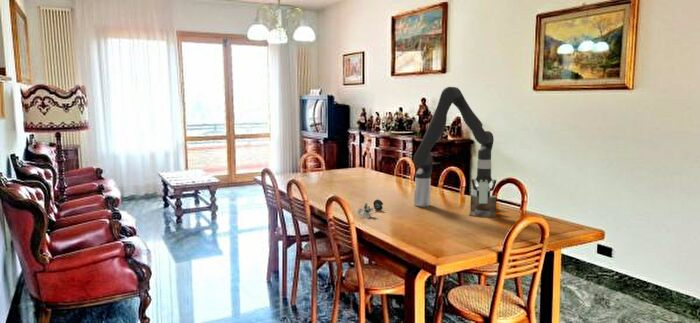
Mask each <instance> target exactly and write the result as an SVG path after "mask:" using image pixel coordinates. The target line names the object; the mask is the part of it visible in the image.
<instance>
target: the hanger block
mask: <svg viewBox="0 0 700 323" xmlns="http://www.w3.org/2000/svg"><path fill="white" fill-rule="evenodd" d="M478 185H479V203H483V204H487V200H488V198H487V197H488V182H479V183H478Z"/></svg>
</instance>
